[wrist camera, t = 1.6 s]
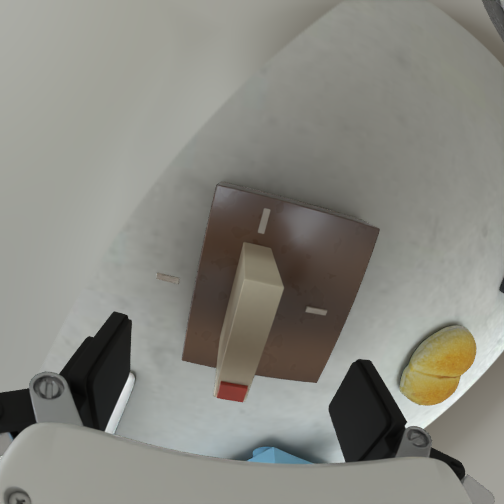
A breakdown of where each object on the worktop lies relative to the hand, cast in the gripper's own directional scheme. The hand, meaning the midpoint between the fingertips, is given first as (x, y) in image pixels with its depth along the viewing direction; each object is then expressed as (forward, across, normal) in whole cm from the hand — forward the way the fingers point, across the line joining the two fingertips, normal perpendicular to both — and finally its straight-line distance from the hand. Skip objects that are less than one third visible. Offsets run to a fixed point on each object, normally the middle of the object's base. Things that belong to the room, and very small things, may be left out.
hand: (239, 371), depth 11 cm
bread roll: (+10, -21, +5) cm, 24 cm away
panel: (+10, -1, 0) cm, 10 cm away
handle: (+7, 0, 0) cm, 7 cm away
